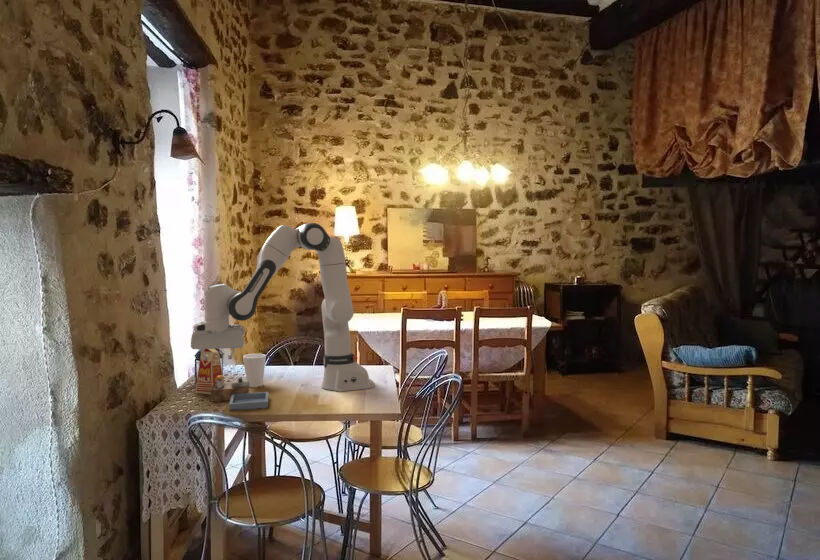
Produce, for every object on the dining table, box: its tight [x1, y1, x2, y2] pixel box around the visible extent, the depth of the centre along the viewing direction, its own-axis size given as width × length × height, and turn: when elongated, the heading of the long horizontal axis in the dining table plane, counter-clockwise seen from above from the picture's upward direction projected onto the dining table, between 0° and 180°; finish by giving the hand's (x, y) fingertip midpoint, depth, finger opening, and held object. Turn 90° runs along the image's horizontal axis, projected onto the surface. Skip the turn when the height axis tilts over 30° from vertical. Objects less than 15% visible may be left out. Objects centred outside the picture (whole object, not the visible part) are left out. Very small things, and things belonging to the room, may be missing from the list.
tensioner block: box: [210, 377, 250, 402], centre depth 241 cm, size 14×8×8 cm, turn 102°
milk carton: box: [194, 349, 225, 395], centre depth 250 cm, size 9×9×20 cm
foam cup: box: [242, 353, 267, 388], centre depth 259 cm, size 10×9×13 cm
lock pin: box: [216, 375, 224, 388], centre depth 240 cm, size 2×2×9 cm
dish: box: [228, 391, 270, 412], centre depth 231 cm, size 14×14×2 cm
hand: (218, 359), depth 239 cm, fingers open, 8 cm apart
